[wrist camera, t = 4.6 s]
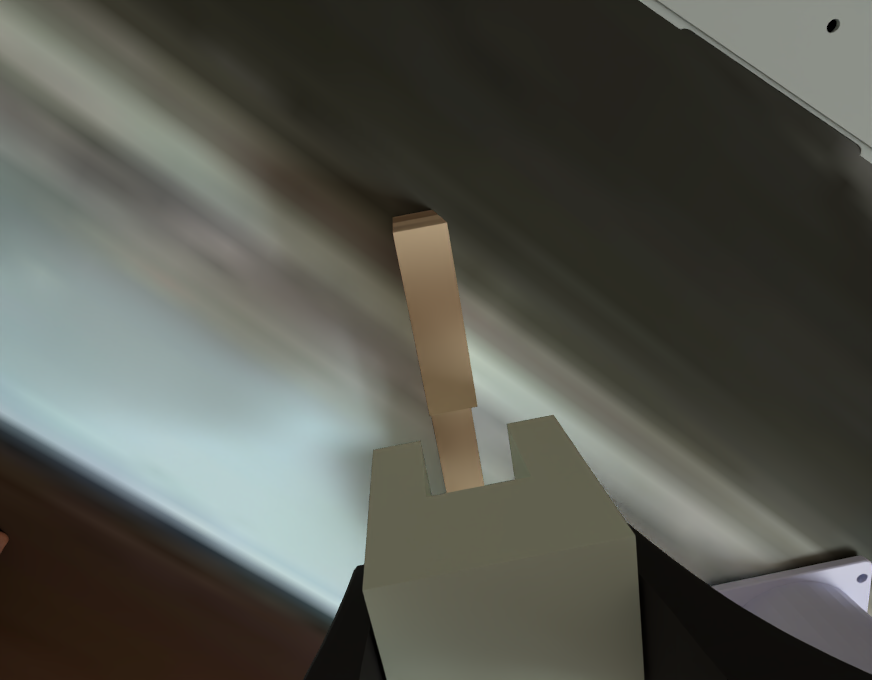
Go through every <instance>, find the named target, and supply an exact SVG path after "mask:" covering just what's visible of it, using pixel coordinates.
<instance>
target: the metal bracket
mask: <svg viewBox="0 0 872 680" xmlns="http://www.w3.org/2000/svg"><path fill="white" fill-rule="evenodd" d="M639 1H641V2H642V3H643V4H645V5H646V6H648V7H649V8H651V9H652V10H653V11H655V12H656V13H658V14H659V15H661V16H662V17H663V18H665V19H666V20H668V21H669V22H671V23H672V24H673V25H675V26H676V27H678V28H679V29H683V28H686V29H690V30H691V31H692V32H694V33H695V34H697V35H698V36H700V37H701V38H703V39H704V40H706V41H707V42H709V43H710V44H711V45H713V46H714V47H716V48H717V49H719V50H720V51H722V52H723V53H725V54H726V55H728V56H729V57H730V58H732V59H733V60H735V61H736V62H738V63H739V64H741V65H742V66H744V67H745V68H747V69H748V70H749V71H751V72H752V73H754V74H755V75H757V76H758V77H760V78H761V79H763V80H764V81H766V82H767V83H768V84H770V85H771V86H773V87H774V88H776V89H777V90H779V91H780V92H782V93H783V94H785V95H786V96H787V97H789V98H790V99H792V100H793V101H795V102H796V103H798V104H799V105H801V106H802V107H804V108H805V109H806V110H808V111H809V112H811V113H812V114H814V115H815V116H817V117H818V118H820V119H821V120H823V121H824V122H825V123H827V124H828V125H830V126H831V127H833V128H834V129H836V130H837V131H839V132H840V133H842V134H843V135H844V136H846V137H847V138H849V139H850V140H852V141H853V142H855V143H856V144H858V146H859V147H860V148H861V154H860V156H862V157H863V158H865V159H866V160H867V161H869V162H870V163H872V0H639ZM833 19H835V20H836V22H837V24H836V27H835V29H834V30H833V31H832V32H828V31H827V25H828V23H829V22H830V21H831V20H833Z"/></svg>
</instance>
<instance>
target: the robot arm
mask: <svg viewBox="0 0 872 680" xmlns="http://www.w3.org/2000/svg"><path fill="white" fill-rule="evenodd" d="M626 523H627V522H626ZM627 524H628V523H627ZM628 526H629V527H630V528H631V530H632V531H633V533H634V534H635V536H636V552H637V568H638V584H639V600H640V616H641V632H642V648H643V665H644V680H872V617H871V616H870V615H869V614H868V613H867V609H868V601H869V592H870V584H871V576H872V563H871V562H870V561H869V560H868V559H867V558H865V557H864V556H854V557H849V558H844V559H840V560H835V561H830V562H825V563H820V564H815V565H811V566H806V567H801V568H796V569H791V570H786V571H782V572H777V573H772V574H767V575H762V576H757V577H753V578H748V579H743V580H738V581H733V582H729V583H724V584H719V585H714V586H709V585H708V584H706V583H705V582H704V581H702V580H701V579H699V578H698V577H696V576H695V575H694V574H692V573H691V572H690V571H688V570H687V569H686V568H684V567H683V566H681V565H680V564H679V563H677V562H676V561H675V560H673V559H672V558H671V557H669V556H668V555H667V554H666V553H664V552H663V551H662V550H660V549H659V548H658V547H657V546H655V545H654V544H653V543H652V542H650V541H649V540H648V539H646V538H645V537H644V536H643V535H642V534H640V533H639V532H638V531H637V530H635V529H634V528H633V527H632V526H631V525H629V524H628ZM363 576H364V565H359V566H357V567H356V568H355V570H354V571H353V574H352V577H351V580H350V582H349V585H348V587H347V590H346V592H345V595H344V597H343V600H342V602H341V604H340V606H339V609H338V611H337V613H336V616H335V618H334V620H333V622H332V624H331V626H330V628H329V630H328V633H327V635H326V637H325V639H324V641H323V643H322V645H321V647H320V649H319V651H318V653H317V655H316V657H315V659H314V660H313V662H312V664H311V666H310V668H309V670H308V672H307V673H306V675H305V677H304V679H303V680H387V679H386V675H385V671H384V668H383V664H382V660H381V657H380V653H379V649H378V646H377V642H376V638H375V635H374V631H373V627H372V624H371V620H370V616H369V613H368V609H367V605H366V602H365V598H364V594H363V591H362V589H363Z"/></svg>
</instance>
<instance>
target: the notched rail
mask: <svg viewBox="0 0 872 680" xmlns="http://www.w3.org/2000/svg"><path fill="white" fill-rule="evenodd" d="M393 236H394V241H395V246H396V251H397V256H398V261H399V266H400V271H401V276H402V281H403V286H404V291H405V296H406V301H407V306H408V311H409V316H410V321H411V326H412V331H413V336H414V341H415V346H416V351H417V356H418V361H419V366H420V371H421V376H422V381H423V386H424V391H425V396H426V401H427V406H428V411H429V416H431V417H432V422H433V427H434V432H435V437H436V442H437V448H438V453H439V458H440V463H441V468H442V473H443V478H444V483H445V488H446V493H449V492H454V491H459V490H464V489H470V488H475V487H480V486H484V481H483V475H482V470H481V464H480V458H479V452H478V446H477V440H476V434H475V429H474V423H473V417H472V411H471V408H472V407H477V401H476V395H475V389H474V383H473V377H472V371H471V365H470V359H469V352H468V346H467V340H466V334H465V328H464V322H463V316H462V310H461V304H460V298H459V292H458V286H457V280H456V274H455V268H454V262H453V256H452V250H451V244H450V238H449V232H448V226H447V222H446V221H445V220H443V219H442V218H441V217H440V216H439V215H438V214H437V213H436V212H434V211H433V210H428V211H423V212H418V213H412V214H407V215H402V216H396V217H393Z"/></svg>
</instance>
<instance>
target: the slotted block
mask: <svg viewBox="0 0 872 680" xmlns="http://www.w3.org/2000/svg"><path fill="white" fill-rule="evenodd" d="M507 428H508V435H509V442H510V449H511V456H512V463H513V470H514V477H515V480H510V481H505V482H500V483H495V484H490V485H485V486H480V487H475V488H470V489H464V490H459V491H454V492H449V493H444V494H439V495H434V496H432V495H431V490H430V485H429V480H428V475H427V471H426V466H425V461H424V456H423V451H422V446H421V441H416V442H411V443H406V444H401V445H395V446H390V447H385V448H380V449H375V450H373V459H372V472H371V485H370V498H369V511H368V524H367V537H366V550H365V563H364V576H363V589H362V591H363V594H364V598H365V602H366V605H367V609H368V613H369V616H370V620H371V624H372V627H373V631H374V635H375V638H376V642H377V646H378V649H379V653H380V657H381V660H382V664H383V668H384V671H385V675H386V679H387V680H644V665H643V648H642V632H641V616H640V600H639V584H638V568H637V552H636V536H635V534H634V533H633V531H632V530H631V528H630V527H629V526H628V524H627V523H626V521H625V520H624V518H623V517H622V515H621V514H620V512H619V511H618V509H617V508H616V506H615V505H614V503H613V502H612V500H611V499H610V497H609V496H608V495H607V493H606V492H605V490H604V489H603V487H602V486H601V484H600V483H599V481H598V480H597V478H596V477H595V475H594V474H593V472H592V471H591V469H590V468H589V467H588V465H587V464H586V462H585V461H584V459H583V458H582V456H581V455H580V453H579V452H578V450H577V449H576V447H575V446H574V444H573V443H572V441H571V440H570V439H569V437H568V436H567V434H566V433H565V431H564V430H563V428H562V427H561V425H560V424H559V422H558V421H557V419H556V418H555V416H554V415H550V416H545V417H540V418H535V419H530V420H525V421H519V422H514V423H509V424H507Z"/></svg>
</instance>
